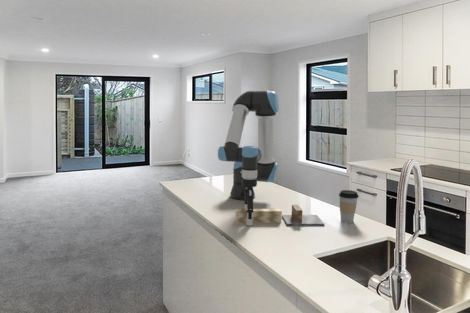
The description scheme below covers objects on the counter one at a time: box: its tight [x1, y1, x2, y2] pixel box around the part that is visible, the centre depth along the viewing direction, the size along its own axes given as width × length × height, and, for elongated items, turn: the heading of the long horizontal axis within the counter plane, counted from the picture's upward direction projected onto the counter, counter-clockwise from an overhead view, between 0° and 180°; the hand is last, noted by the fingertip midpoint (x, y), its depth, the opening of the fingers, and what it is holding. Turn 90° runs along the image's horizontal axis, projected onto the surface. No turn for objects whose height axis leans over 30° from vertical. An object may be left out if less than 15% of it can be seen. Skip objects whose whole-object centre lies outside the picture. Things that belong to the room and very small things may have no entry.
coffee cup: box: [338, 189, 360, 224], centre depth 187 cm, size 9×9×15 cm
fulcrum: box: [281, 204, 325, 227], centre depth 187 cm, size 18×14×7 cm
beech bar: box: [235, 208, 283, 224], centre depth 186 cm, size 22×4×6 cm, turn 94°
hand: (248, 220), depth 186 cm, fingers open, 12 cm apart
